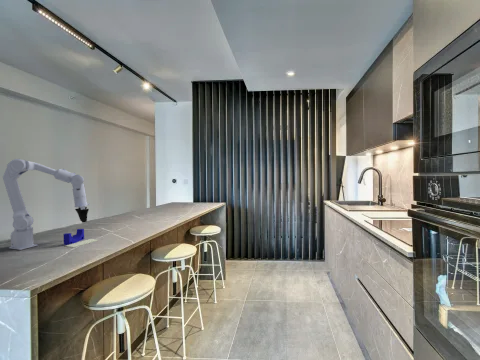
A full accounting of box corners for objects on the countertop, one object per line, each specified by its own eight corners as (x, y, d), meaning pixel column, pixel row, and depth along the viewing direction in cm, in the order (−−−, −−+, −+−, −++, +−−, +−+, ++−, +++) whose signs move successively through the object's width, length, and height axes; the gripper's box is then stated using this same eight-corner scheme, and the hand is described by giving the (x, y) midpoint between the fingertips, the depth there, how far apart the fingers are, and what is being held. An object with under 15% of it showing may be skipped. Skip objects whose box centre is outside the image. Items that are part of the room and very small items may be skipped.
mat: (65, 246, 130) (65, 245, 130) (90, 239, 142) (90, 238, 142) (73, 247, 127) (73, 246, 127) (98, 240, 140) (98, 239, 140)
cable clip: (76, 239, 144) (75, 228, 144) (84, 239, 144) (83, 228, 144) (61, 245, 132) (60, 234, 132) (69, 245, 132) (69, 234, 132)
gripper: (90, 196, 136) (93, 221, 137) (86, 195, 148) (90, 218, 149) (74, 198, 132) (78, 224, 133) (72, 197, 144) (75, 220, 145)
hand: (83, 221), depth 141 cm, fingers open, 7 cm apart
